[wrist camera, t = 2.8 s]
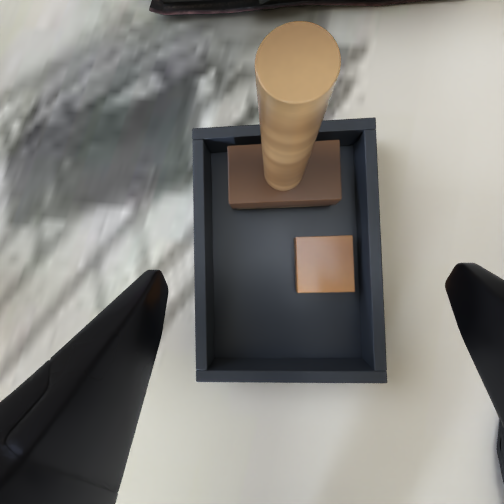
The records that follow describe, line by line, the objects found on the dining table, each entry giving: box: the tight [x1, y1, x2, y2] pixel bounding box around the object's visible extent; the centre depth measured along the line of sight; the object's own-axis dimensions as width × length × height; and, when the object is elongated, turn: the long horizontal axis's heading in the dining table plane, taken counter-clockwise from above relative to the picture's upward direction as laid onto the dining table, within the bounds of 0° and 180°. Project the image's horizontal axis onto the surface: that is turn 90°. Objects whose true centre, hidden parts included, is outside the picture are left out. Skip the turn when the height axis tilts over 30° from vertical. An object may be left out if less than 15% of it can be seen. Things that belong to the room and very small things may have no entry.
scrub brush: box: [227, 21, 342, 209], centre depth 15 cm, size 4×8×13 cm, turn 91°
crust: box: [294, 235, 355, 293], centre depth 20 cm, size 4×4×1 cm
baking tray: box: [192, 118, 387, 383], centre depth 20 cm, size 18×13×3 cm
